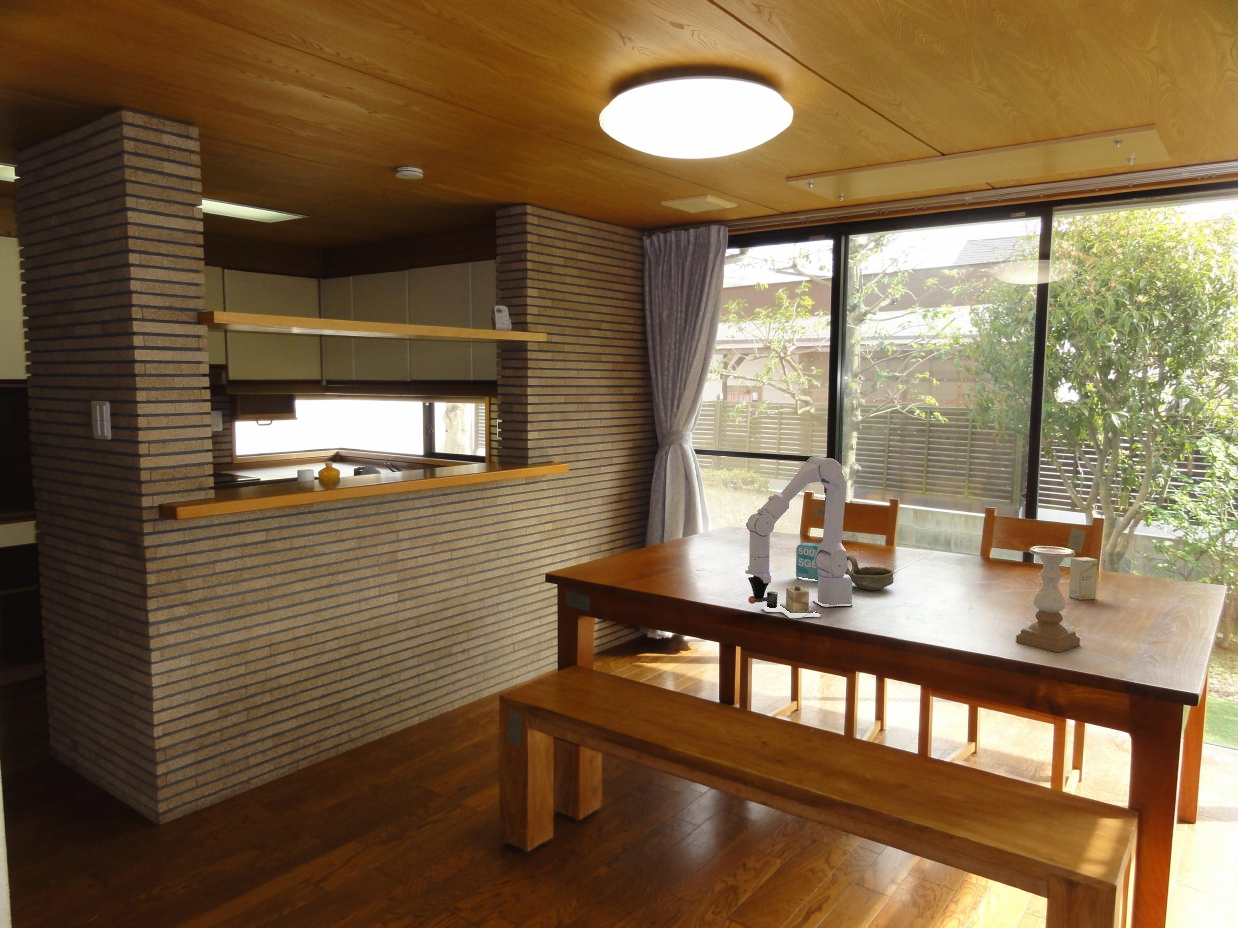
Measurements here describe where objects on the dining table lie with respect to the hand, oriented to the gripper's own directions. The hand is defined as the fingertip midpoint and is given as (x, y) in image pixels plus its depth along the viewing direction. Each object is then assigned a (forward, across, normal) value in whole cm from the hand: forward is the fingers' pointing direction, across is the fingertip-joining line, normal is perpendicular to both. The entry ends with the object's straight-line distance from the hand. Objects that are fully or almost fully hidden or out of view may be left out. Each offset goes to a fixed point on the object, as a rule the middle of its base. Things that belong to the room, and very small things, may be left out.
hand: (758, 601), depth 239 cm
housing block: (+1, +4, +10) cm, 11 cm away
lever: (+1, +1, +1) cm, 2 cm away
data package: (+3, -33, +31) cm, 45 cm away
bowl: (+3, -20, +43) cm, 47 cm away
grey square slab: (+2, +4, +8) cm, 9 cm away
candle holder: (+3, +42, +61) cm, 74 cm away
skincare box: (+3, +3, +102) cm, 102 cm away
